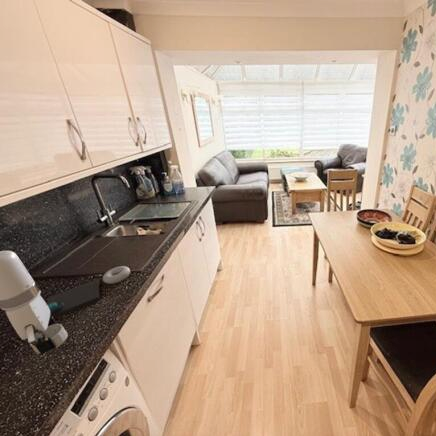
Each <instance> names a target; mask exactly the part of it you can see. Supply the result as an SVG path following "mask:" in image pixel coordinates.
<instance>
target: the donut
mask: <svg viewBox="0 0 436 436" xmlns="http://www.w3.org/2000/svg"><path fill="white" fill-rule="evenodd" d="M130 274H131V269H130V268H129V266H125V265H121V266H116V267H114V268H111V269H109V270H108V271H106V272H105V273H104V274H103V276H102V281H103V283H105V284H106V285H115V284H119V283H121V282H123V281H124V280H126V279H127V278H128V277H130Z"/></svg>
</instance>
